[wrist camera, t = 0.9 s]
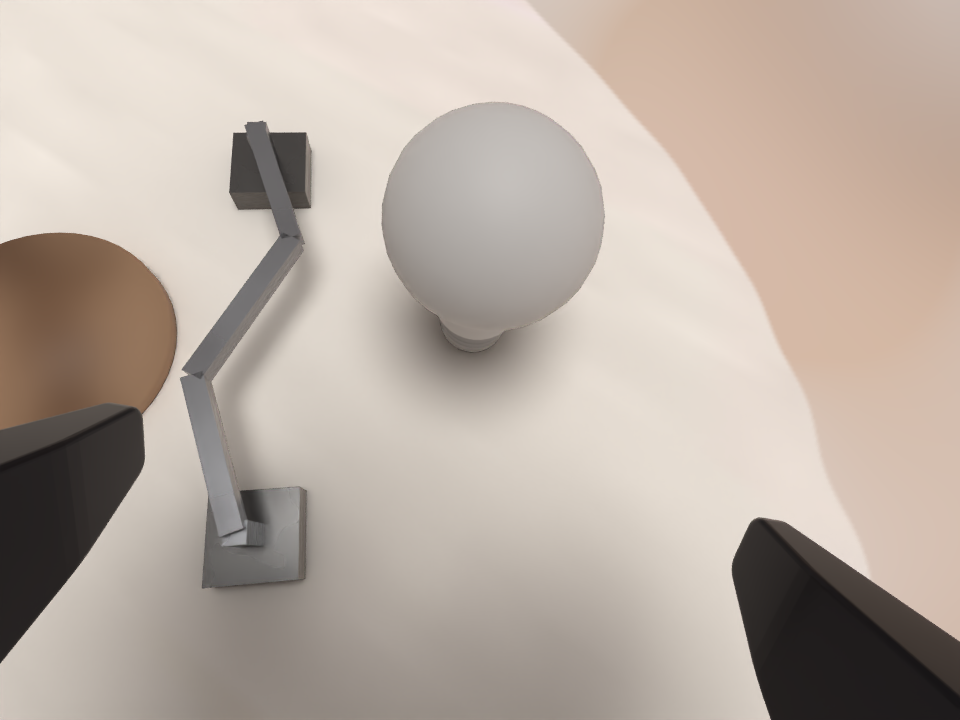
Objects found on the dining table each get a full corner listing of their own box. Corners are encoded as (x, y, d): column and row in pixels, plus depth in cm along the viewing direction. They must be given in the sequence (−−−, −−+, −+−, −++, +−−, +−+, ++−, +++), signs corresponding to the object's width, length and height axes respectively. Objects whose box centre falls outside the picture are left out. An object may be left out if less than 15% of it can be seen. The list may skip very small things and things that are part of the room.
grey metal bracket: (315, 577, 20) (293, 580, 17) (204, 587, 19) (160, 592, 16) (318, 151, 26) (303, 92, 22) (234, 152, 25) (206, 91, 22)
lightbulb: (574, 339, 24) (691, 167, 13) (463, 433, 22) (499, 320, 12) (477, 238, 25) (514, 9, 14) (364, 320, 23) (316, 125, 13)
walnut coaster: (-11, 521, 19) (-28, 520, 19) (-128, 330, 21) (-149, 321, 20) (222, 364, 22) (215, 357, 21) (100, 205, 24) (90, 193, 23)
